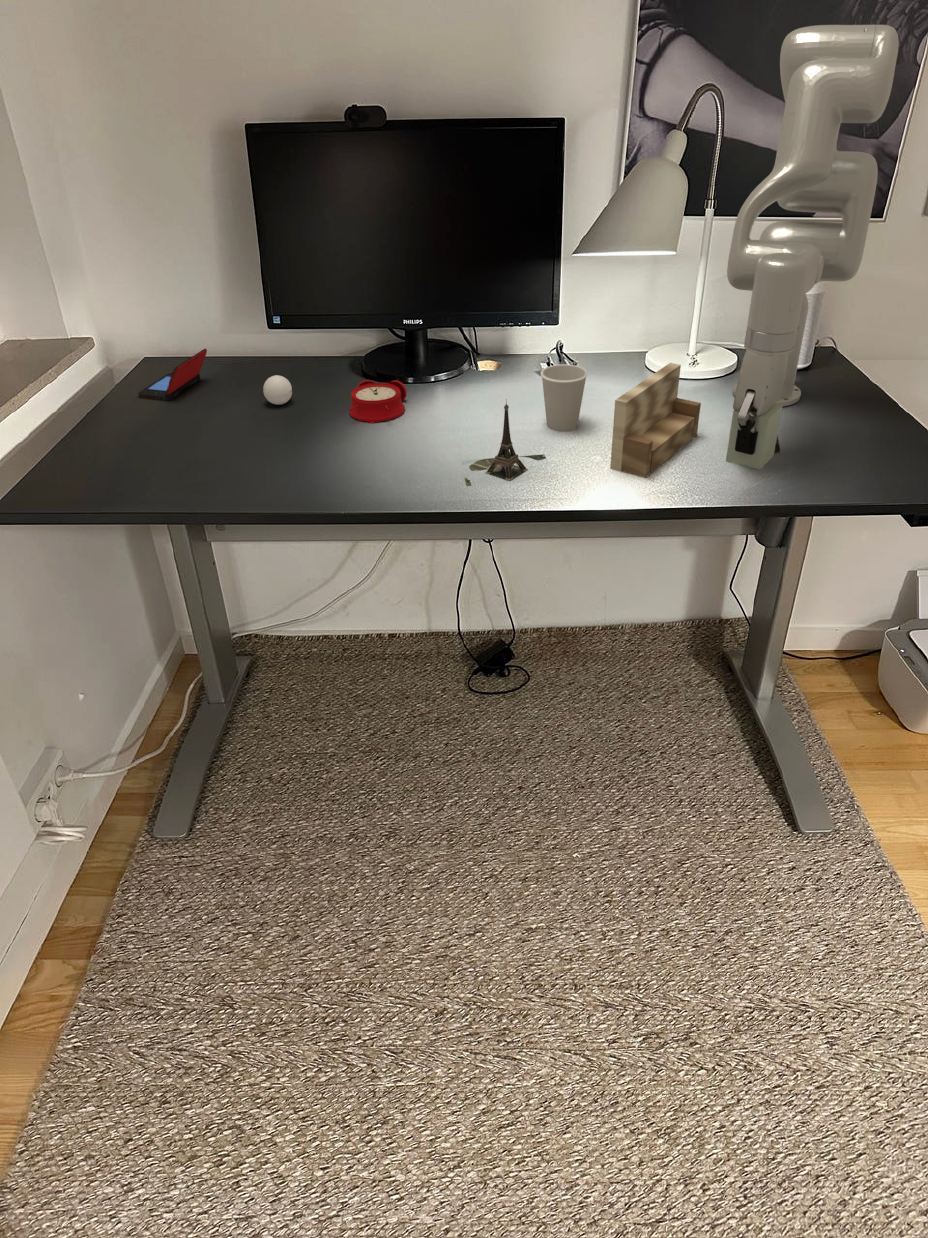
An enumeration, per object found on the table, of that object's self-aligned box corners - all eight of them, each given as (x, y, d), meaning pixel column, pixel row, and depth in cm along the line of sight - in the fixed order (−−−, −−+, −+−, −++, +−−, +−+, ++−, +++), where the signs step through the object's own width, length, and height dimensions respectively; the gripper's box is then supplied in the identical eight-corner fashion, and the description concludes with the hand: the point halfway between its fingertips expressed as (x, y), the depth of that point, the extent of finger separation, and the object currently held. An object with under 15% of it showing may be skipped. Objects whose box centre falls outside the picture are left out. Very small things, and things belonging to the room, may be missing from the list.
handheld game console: (171, 376, 194) (163, 342, 189) (215, 381, 191) (208, 346, 187) (136, 398, 184) (127, 363, 180) (182, 404, 181) (174, 368, 177)
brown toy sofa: (663, 426, 165) (670, 362, 158) (696, 434, 162) (705, 369, 155) (610, 468, 152) (615, 399, 145) (645, 477, 149) (652, 408, 142)
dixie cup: (532, 429, 166) (533, 376, 160) (550, 412, 172) (551, 361, 166) (574, 437, 162) (577, 383, 157) (591, 420, 168) (594, 367, 163)
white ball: (291, 408, 177) (287, 381, 174) (262, 409, 177) (258, 381, 174) (298, 394, 183) (294, 366, 180) (270, 394, 183) (266, 367, 180)
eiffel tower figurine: (545, 456, 158) (547, 382, 150) (556, 483, 149) (559, 406, 142) (460, 463, 157) (457, 388, 149) (466, 490, 148) (464, 412, 141)
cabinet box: (739, 448, 157) (749, 387, 151) (773, 456, 154) (784, 394, 148) (725, 460, 153) (735, 398, 147) (760, 469, 150) (771, 406, 144)
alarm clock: (340, 406, 168) (355, 360, 178) (346, 435, 173) (360, 388, 183) (397, 407, 167) (409, 360, 177) (401, 435, 172) (412, 388, 182)
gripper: (767, 319, 149) (750, 422, 159) (725, 350, 138) (709, 458, 148) (812, 327, 145) (792, 432, 156) (773, 359, 134) (754, 469, 145)
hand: (752, 444), depth 152 cm, fingers closed on cabinet box, 6 cm apart
